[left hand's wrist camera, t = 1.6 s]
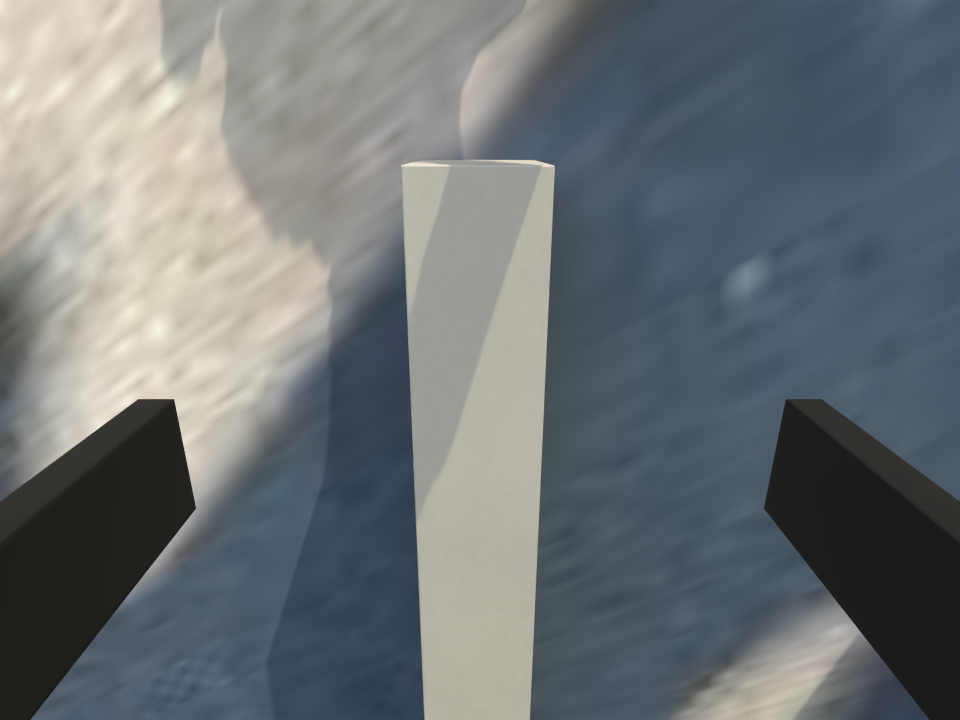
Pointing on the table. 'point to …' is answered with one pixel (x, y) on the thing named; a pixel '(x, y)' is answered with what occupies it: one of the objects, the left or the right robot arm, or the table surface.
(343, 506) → the table surface
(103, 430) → the left robot arm
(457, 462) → the bar
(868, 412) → the table surface
